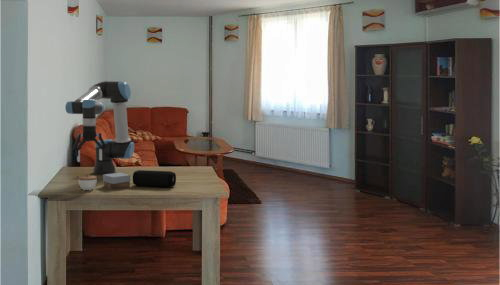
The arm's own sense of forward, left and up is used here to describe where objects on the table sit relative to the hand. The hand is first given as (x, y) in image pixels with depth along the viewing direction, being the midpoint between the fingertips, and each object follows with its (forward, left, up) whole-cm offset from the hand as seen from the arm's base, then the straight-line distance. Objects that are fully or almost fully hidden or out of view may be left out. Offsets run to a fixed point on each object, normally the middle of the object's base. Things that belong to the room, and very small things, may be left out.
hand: (89, 160), depth 347 cm
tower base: (+1, +17, -18) cm, 24 cm away
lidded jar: (0, -1, -18) cm, 18 cm away
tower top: (+1, +16, -14) cm, 21 cm away
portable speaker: (+11, +37, -18) cm, 43 cm away
